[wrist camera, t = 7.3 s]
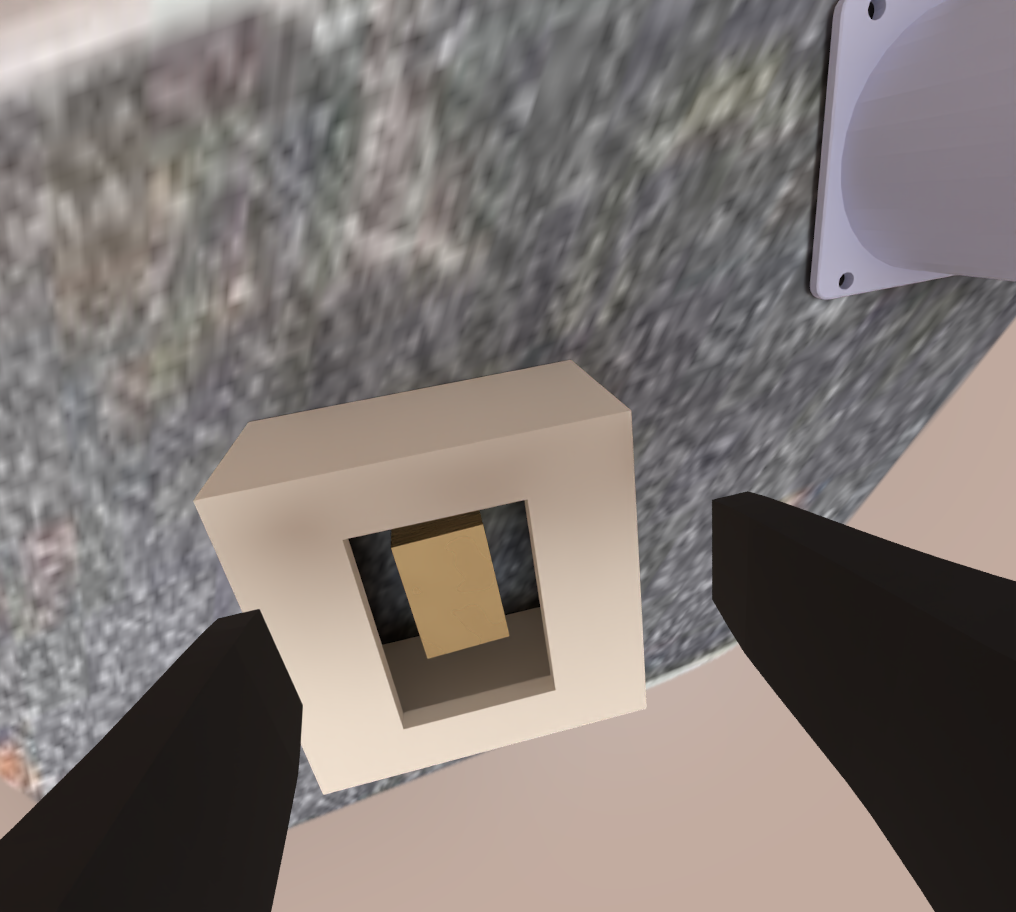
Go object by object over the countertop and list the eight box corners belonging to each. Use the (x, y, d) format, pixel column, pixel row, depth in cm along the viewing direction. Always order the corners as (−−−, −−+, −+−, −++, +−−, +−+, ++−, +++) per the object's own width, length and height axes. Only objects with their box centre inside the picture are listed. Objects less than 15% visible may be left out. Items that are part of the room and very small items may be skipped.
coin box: (571, 359, 18) (630, 410, 13) (594, 605, 22) (646, 708, 17) (248, 422, 17) (192, 500, 12) (339, 668, 21) (323, 794, 16)
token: (466, 463, 18) (482, 524, 15) (489, 560, 20) (509, 636, 17) (392, 481, 18) (390, 548, 15) (422, 578, 20) (427, 658, 16)
